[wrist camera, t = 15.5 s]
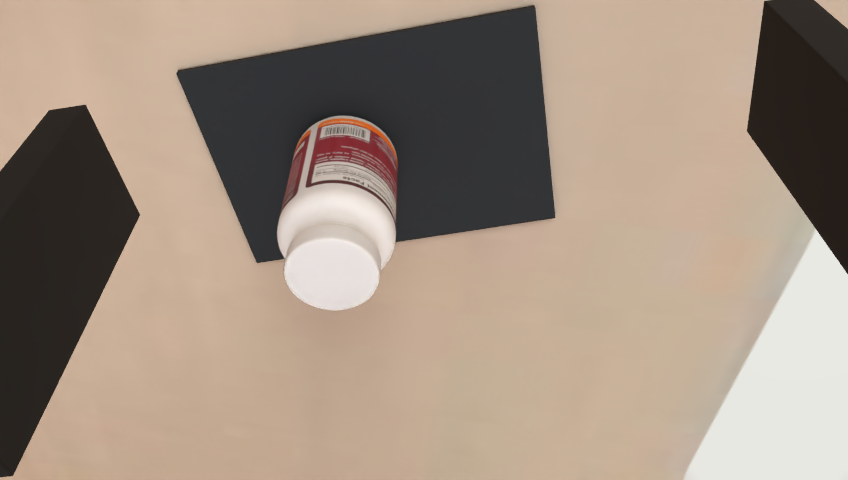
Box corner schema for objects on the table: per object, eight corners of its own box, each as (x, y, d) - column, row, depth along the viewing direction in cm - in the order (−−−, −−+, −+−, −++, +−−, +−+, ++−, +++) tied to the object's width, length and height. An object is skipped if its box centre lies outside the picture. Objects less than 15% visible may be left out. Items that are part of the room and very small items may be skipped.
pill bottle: (339, 215, 47) (321, 340, 38) (274, 146, 44) (238, 265, 35) (419, 167, 45) (419, 288, 36) (356, 91, 42) (340, 204, 33)
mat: (257, 259, 50) (256, 263, 49) (178, 70, 41) (175, 73, 41) (554, 214, 48) (555, 218, 47) (534, 4, 39) (535, 7, 39)
